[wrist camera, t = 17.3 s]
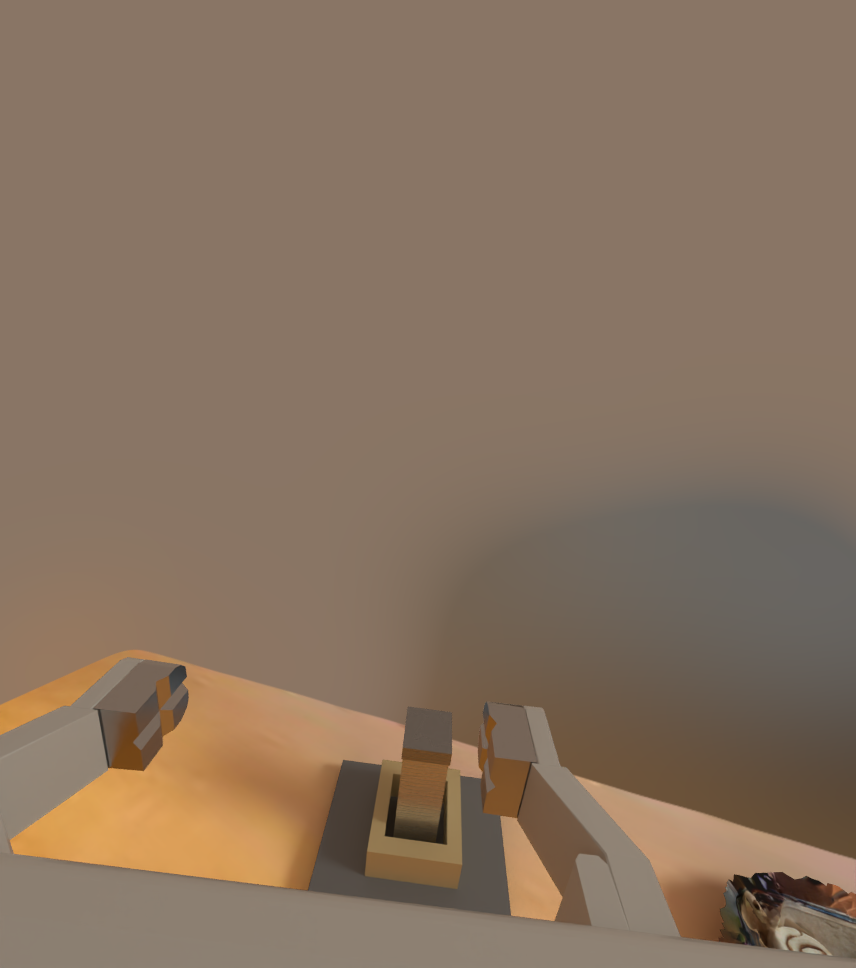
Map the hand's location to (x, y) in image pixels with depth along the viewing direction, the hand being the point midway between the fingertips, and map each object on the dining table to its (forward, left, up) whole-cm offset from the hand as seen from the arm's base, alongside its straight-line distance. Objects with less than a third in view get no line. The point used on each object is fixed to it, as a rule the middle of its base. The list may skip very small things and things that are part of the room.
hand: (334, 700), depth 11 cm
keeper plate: (+1, +17, -33) cm, 37 cm away
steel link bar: (+1, +17, -32) cm, 36 cm away
